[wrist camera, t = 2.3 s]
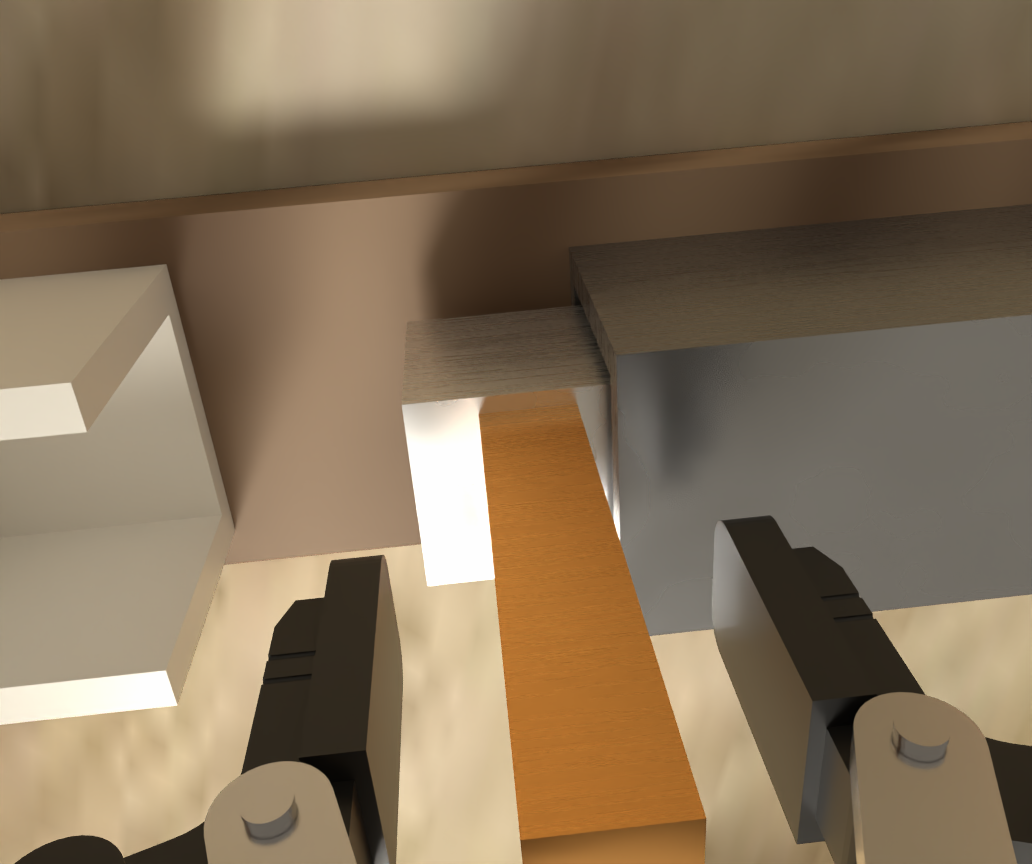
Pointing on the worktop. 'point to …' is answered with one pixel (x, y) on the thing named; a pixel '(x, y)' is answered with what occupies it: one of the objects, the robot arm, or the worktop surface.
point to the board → (442, 288)
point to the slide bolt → (549, 579)
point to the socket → (102, 496)
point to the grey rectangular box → (822, 402)
